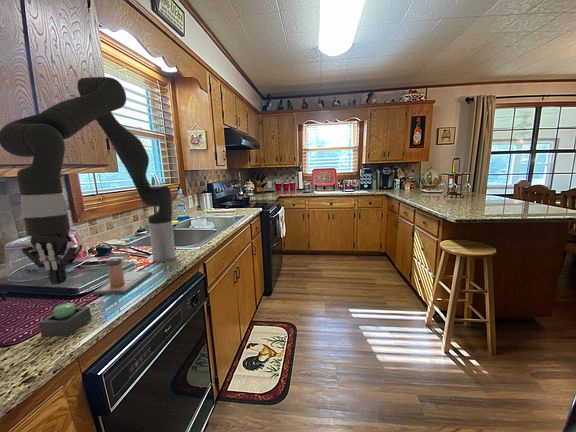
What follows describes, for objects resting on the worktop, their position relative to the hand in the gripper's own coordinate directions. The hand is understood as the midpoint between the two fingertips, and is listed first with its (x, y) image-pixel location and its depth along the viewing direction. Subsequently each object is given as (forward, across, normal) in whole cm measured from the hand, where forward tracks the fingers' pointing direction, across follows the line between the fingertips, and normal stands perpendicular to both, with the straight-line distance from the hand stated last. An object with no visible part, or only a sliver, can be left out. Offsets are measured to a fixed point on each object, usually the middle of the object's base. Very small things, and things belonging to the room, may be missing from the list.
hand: (58, 282), depth 61 cm
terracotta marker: (+11, +2, -21) cm, 24 cm away
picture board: (+12, +2, -25) cm, 28 cm away
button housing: (+12, 0, 0) cm, 12 cm away
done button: (+8, 0, 0) cm, 9 cm away
